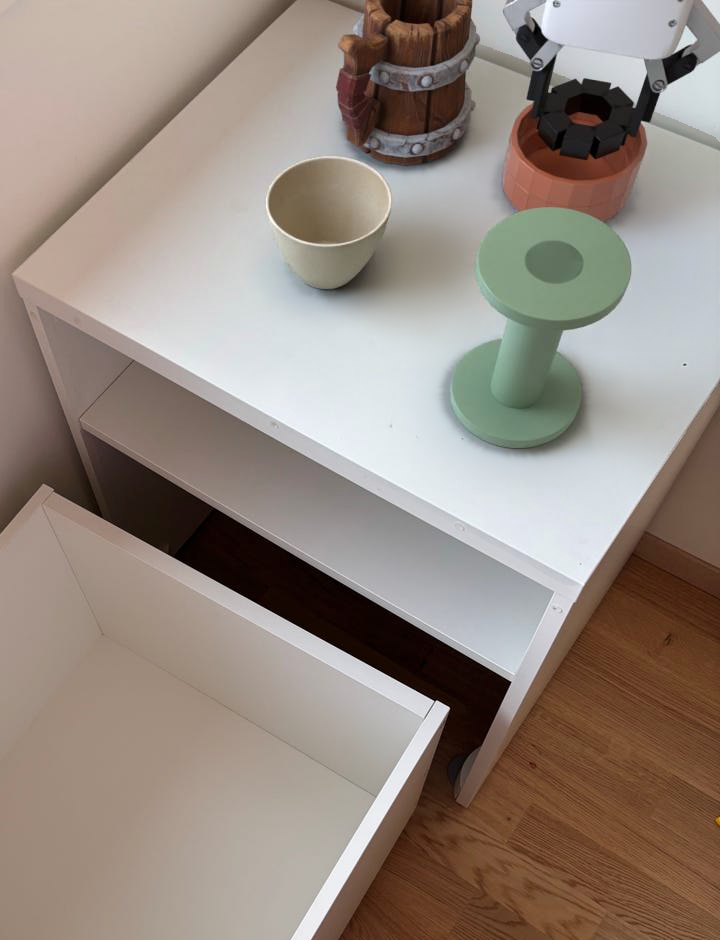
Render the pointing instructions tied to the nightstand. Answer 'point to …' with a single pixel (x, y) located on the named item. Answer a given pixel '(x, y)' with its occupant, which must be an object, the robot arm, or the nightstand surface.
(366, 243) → the flower pot
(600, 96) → the ring
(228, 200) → the nightstand surface
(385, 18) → the mug
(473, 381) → the stand
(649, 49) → the robot arm
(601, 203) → the bowl
